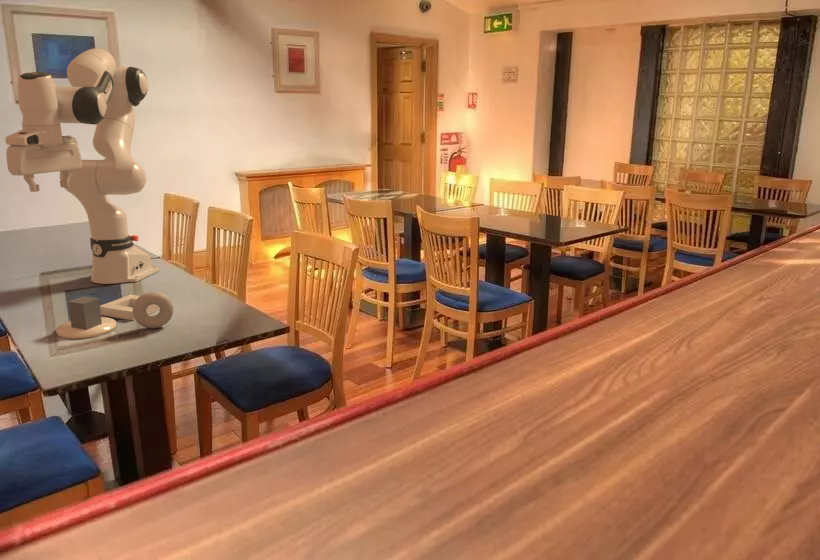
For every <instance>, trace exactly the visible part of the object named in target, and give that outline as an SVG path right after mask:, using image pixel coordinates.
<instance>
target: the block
mask: <svg viewBox="0 0 820 560" xmlns="http://www.w3.org/2000/svg"><path fill="white" fill-rule="evenodd" d="M67 302H68V310H69V312H68V313H69V318H70V321H71V326H72V328H78V329H84V330H88V329H90V328H93V327H95V326H98V325H100V324H102V320H101V317H102V315H101V312H100V306H101V305H100V298H98V297H93V296H85V295H83V296H80V297H77V298H75V299H72V300H68V301H67Z"/></svg>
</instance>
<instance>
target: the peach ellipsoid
mask: <svg viewBox="0 0 820 560" xmlns="http://www.w3.org/2000/svg"><path fill="white" fill-rule="evenodd" d="M101 320H102V324H100V325H98V326H95V327H93V328H90V329H88V330H84V329H78V328H72V326H71V320H69V321H65V322H63V323H62V324H60V325H58V326H57V327H56V328H55V331H56V335H57V336H58V337H59V338H61V339H62V338H63V339H68V340H69V339H70V340H83V339H91V338H96V337H102V336H103V335H104V336H105V335H107V334H109V333H111V332H113V331H114V330H115V329H116V328H117V320H115V319H114V318H113V317H111V318H110V317H108V316H101Z"/></svg>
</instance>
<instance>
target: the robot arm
mask: <svg viewBox="0 0 820 560" xmlns="http://www.w3.org/2000/svg"><path fill="white" fill-rule="evenodd" d="M116 63H117V62H116V60H115V58H114V57H113V55H112V53H110V52H109V51H108V50H105V49H103V48H99V47H96V48H89V49H87V50H86V51H82V52H81V53H80V54H78V55H77V56H75V58H73V59H72V60H71V61H70V62H69V64H68V66H67V69H66V76H67V80H68V81H69V84H70V85H71V86H57V84H55V83H54V80H53V77H52V75H51V74H50V73H47V72H42V71H41V72H40V71H38V72H37V71H34V72H33V71H32V72H26V73H25V72H24V73H22V74H19V76H18V78H17V98H18V106H19V107H18V108H19V109H20V112H21V115H22V121H21V127H22V129H20V130H17V131H16V132H14V133H12V134H9V135H7V136H6V137H5V138H4V139H5V140H4V141H5V144H6V145H8V147H7V148H6V154H5V155H6V157H5V158H6V166H7V169H8V172H9V174H10V175H12V176H23V179H24V181H25V182H26V183H27V185H28V187H29V191H30V192H31V193H36V192H40V184H38V183H37V184H36V181H34V179H35V175H38V174H47V173H49V174H50V173H55V172H56V173H57V172H59V184H60V185H59V186H60V188H64V190H66V191H67V192H69V194H71V195H72V196H74V197H75V198H76V199H77V200H78V201H79V202H80V204H81V206H82V207H83V209H84V211H85V213H86V215H87V219H88V224H89V230H90V236H91V237H90V238H89V241H90V242H89V243H90V250H91V252H92V257H91V258H92V261H91V263H92V266H91V267H92V269H91V278H90V282H91V283H96V284H102V285H103V284H104V285H109V284H110V285H112V284H113V285H114V284H122V283H135V282H139V281H141V280H144V279H145V278H147V277H149V276H152V275H154V274H156V273H158V272H160V271H161V270H160V268H159V267H157V266H154V265H152V260H151V257H150V255H149V254H148V253H147V252H146V251H143V250H142V249H140V248H138V247H137V246H135V244H134V242H139V238H140V237H139V235H137V234H136V235H135V234H132V235H129V229H128V218H127V214H126V213H125V211H124V210H123V209H122V208H121V207H119V206H117V205H115V204H113V203H112V202H111V201H110V200H109V198H108V196H111V195H112V196H113V195H115V196H126V195H133V194H137V193H141V191H143V189H144V188H145V185H146V183H147V182H146V181H147V176H146V172H145V170H144V168H143V166H142V165H141V164H140V163H138V162H137V161H136V160H135V159H134V158H133V157H132V155H131V147H132V146H131V144H132V139H133V133H134V129H135V111H134V108H133V107H137V106H139V105H140V103H141V102H142V101H143V100H144V99H145V97H146V96H147V94H148V90H149V89H148V88H149V82H148V79H147V76H146V74H145V72H144V71H143V70H142V69H141V68H138V67H134V66H129V67H127V66H120V65H118V66H117V64H116ZM61 123H62V124H84V125H85V124H87V125H94V126H95V125H96V126H95V130H94V134H93V137H92V138H93V139H92V145H93V148H94V150H95V151H96V152H97V154H99V155H100V156H102V157H103V158H104V159H82V155H81V151H80V148H79V145H78V141H77V139H76V138H75V137H73V136H72V135H63V134H62V126H61ZM107 195H108V196H107Z"/></svg>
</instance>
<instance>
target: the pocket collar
mask: <svg viewBox="0 0 820 560" xmlns="http://www.w3.org/2000/svg"><path fill="white" fill-rule="evenodd" d="M139 296H140V295H136V294H129V295H126V296H123V297H120V298H117V299H115V300H112V301H110V302H107V303H104V304H101V305H100V312H101V316H102V317H108V318H110V317H111V318H115V319H124V320H129V321H136V320H135V318H134V316H133V313H132V311H133V305H134V303H135V301H136V300H137V298H138V297H139ZM146 311H147V314H149V315H151V314H153V313H155V312H158V311H160V308H159V306H157V305H155V304H152V305H149V306H148V307H147V309H146Z"/></svg>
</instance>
